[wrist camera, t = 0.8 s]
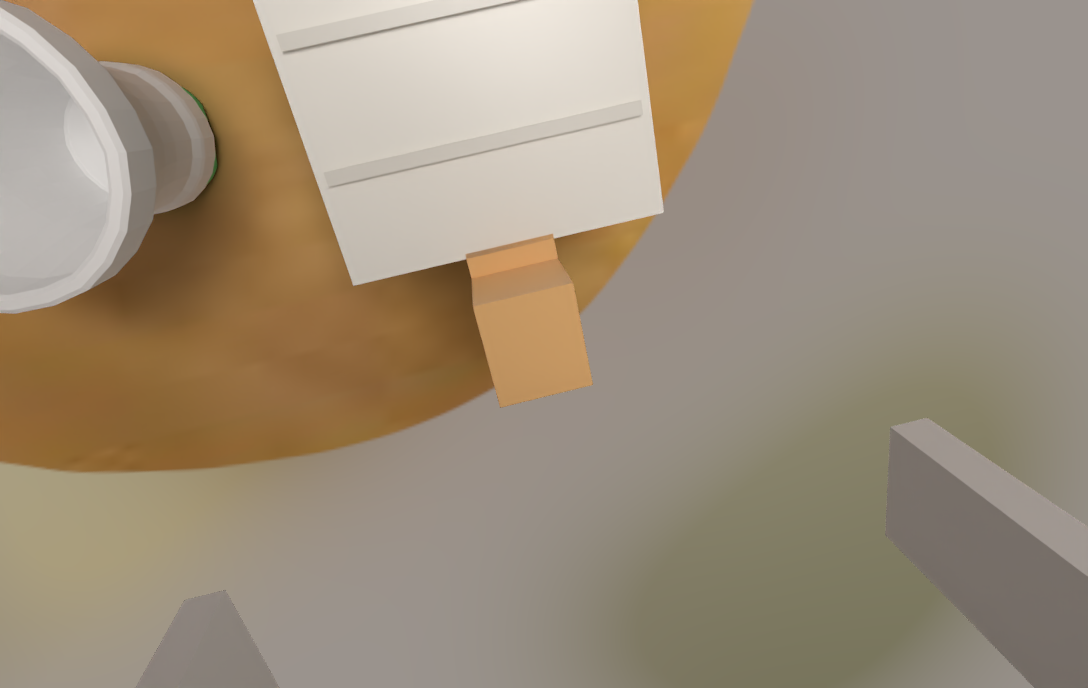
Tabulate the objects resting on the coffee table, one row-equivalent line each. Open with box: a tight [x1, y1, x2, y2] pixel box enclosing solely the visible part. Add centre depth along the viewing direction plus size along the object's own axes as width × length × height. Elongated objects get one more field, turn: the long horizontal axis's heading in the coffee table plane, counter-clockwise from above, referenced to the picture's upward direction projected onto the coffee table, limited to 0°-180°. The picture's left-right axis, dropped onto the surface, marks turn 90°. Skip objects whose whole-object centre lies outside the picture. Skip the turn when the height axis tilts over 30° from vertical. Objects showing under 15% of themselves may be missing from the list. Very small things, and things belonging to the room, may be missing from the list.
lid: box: [253, 0, 664, 407], centre depth 21 cm, size 17×12×6 cm
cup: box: [0, 0, 218, 314], centre depth 27 cm, size 11×11×14 cm
